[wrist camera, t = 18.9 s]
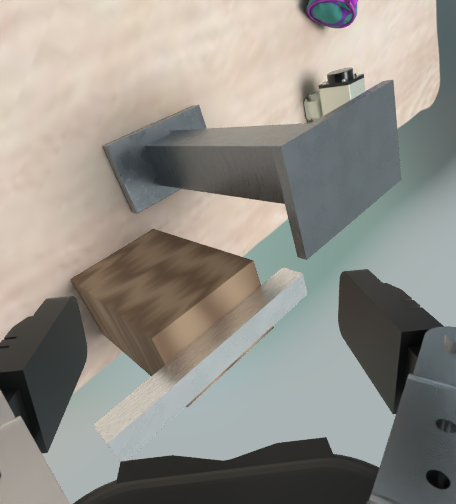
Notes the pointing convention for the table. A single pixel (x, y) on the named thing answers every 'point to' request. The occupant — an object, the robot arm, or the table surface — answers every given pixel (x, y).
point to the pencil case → (332, 12)
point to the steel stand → (271, 163)
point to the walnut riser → (164, 295)
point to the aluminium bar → (198, 365)
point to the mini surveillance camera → (334, 93)
